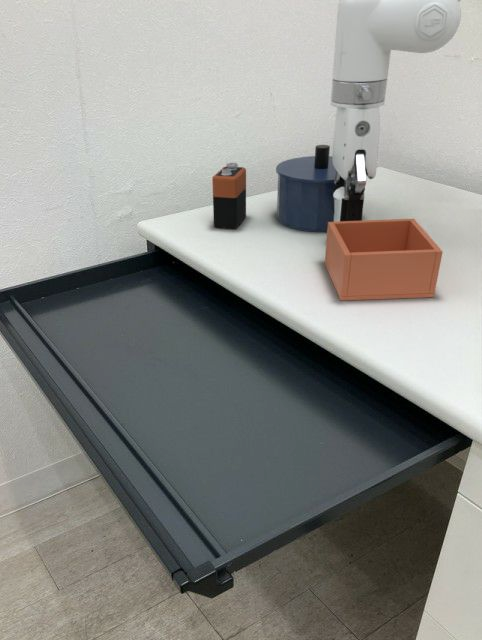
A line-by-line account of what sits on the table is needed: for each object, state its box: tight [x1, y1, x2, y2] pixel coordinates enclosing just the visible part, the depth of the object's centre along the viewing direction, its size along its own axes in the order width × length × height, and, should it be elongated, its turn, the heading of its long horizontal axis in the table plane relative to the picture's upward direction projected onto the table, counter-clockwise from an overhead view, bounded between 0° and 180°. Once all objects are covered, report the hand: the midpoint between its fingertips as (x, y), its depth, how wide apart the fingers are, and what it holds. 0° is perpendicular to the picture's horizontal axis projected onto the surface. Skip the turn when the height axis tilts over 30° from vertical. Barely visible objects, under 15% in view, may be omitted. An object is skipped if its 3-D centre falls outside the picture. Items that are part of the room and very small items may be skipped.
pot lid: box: [275, 144, 355, 183], centre depth 103 cm, size 16×16×5 cm
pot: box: [276, 174, 354, 233], centre depth 106 cm, size 15×15×8 cm
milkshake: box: [333, 187, 344, 222], centre depth 94 cm, size 5×5×10 cm
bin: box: [324, 218, 444, 301], centre depth 84 cm, size 13×13×7 cm
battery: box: [212, 162, 247, 230], centre depth 105 cm, size 4×7×10 cm, turn 161°
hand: (346, 215), depth 94 cm, fingers open, 5 cm apart
